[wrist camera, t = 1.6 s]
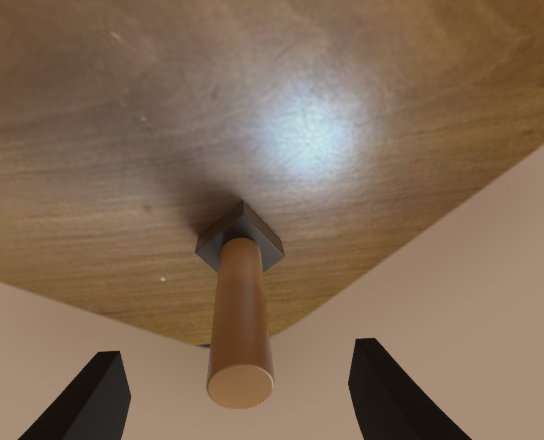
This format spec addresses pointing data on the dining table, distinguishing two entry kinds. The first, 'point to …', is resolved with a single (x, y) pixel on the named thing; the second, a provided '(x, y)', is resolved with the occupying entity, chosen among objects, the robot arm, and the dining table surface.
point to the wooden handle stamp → (240, 308)
